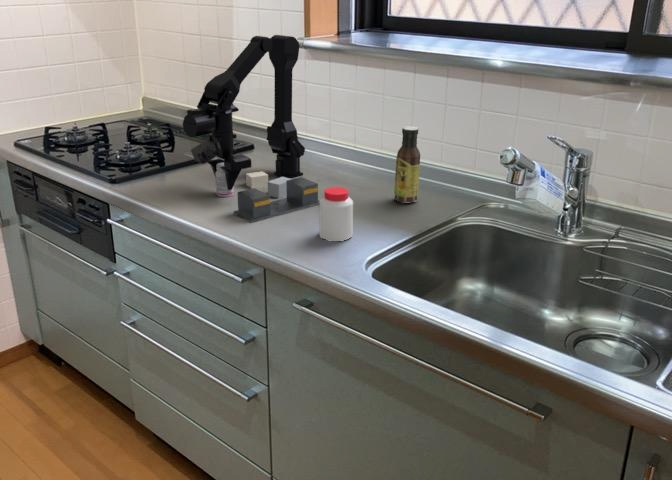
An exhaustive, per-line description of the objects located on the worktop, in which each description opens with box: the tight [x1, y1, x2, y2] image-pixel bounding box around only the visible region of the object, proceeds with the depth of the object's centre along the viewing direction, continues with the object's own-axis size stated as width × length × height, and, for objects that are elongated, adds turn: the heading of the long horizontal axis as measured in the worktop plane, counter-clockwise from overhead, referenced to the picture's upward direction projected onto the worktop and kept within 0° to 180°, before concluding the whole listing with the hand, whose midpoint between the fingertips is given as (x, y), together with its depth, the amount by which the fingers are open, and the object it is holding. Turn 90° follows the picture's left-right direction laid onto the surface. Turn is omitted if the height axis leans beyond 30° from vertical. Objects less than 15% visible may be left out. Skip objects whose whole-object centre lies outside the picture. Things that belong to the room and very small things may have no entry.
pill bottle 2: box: [319, 186, 354, 241], centre depth 155 cm, size 8×8×11 cm
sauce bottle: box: [393, 125, 421, 203], centre depth 176 cm, size 6×6×20 cm
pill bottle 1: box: [215, 163, 235, 198], centre depth 182 cm, size 5×5×8 cm
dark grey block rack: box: [233, 176, 321, 224], centre depth 172 cm, size 22×8×6 cm, turn 130°
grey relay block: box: [267, 176, 292, 199], centre depth 183 cm, size 6×4×4 cm, turn 143°
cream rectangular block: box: [245, 171, 269, 189], centre depth 190 cm, size 5×4×4 cm
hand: (225, 187), depth 182 cm, fingers closed on pill bottle 1, 5 cm apart
